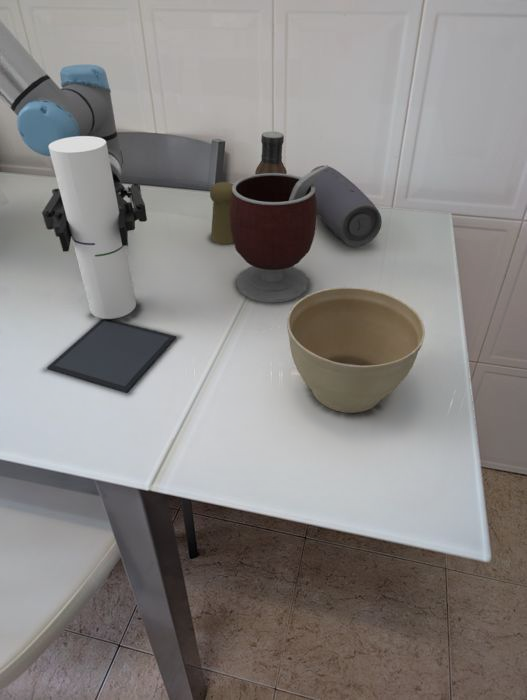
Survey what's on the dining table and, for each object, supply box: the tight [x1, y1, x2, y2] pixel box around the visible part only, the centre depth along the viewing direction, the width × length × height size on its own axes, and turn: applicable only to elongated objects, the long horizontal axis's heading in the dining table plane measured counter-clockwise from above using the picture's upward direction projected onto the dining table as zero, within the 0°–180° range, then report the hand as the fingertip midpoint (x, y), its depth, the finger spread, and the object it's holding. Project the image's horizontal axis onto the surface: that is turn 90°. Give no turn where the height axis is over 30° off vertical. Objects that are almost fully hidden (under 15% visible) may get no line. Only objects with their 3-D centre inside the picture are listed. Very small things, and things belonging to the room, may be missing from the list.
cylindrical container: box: [48, 136, 137, 320], centre depth 72 cm, size 7×7×25 cm
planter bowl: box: [286, 286, 426, 414], centre depth 62 cm, size 16×16×11 cm
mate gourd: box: [230, 164, 330, 304], centre depth 81 cm, size 16×14×20 cm
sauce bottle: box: [254, 130, 288, 175], centre depth 95 cm, size 6×6×20 cm
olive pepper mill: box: [209, 181, 234, 245], centre depth 98 cm, size 6×6×11 cm
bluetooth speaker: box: [310, 165, 383, 247], centre depth 102 cm, size 23×9×10 cm, turn 14°
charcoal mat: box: [46, 318, 177, 394], centre depth 71 cm, size 13×13×1 cm
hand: (93, 239), depth 67 cm, fingers closed on cylindrical container, 7 cm apart
